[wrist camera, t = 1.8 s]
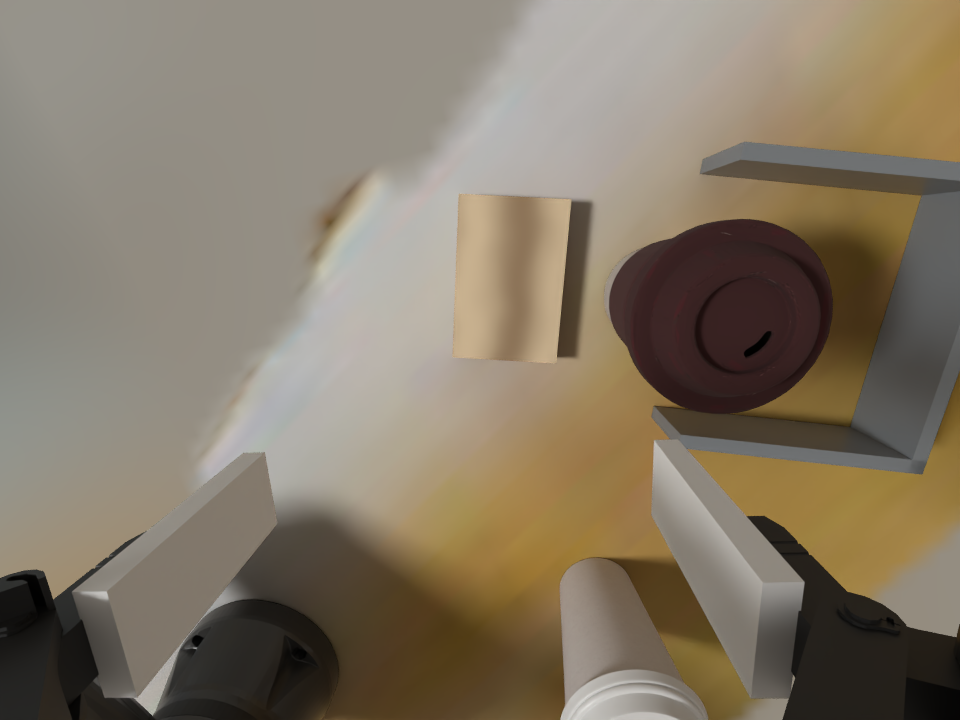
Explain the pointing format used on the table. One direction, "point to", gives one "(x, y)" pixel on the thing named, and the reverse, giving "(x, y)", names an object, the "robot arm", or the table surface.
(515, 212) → the board
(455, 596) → the table surface
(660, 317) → the coffee cup
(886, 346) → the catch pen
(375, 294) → the table surface
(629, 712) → the coffee cup
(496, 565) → the table surface
